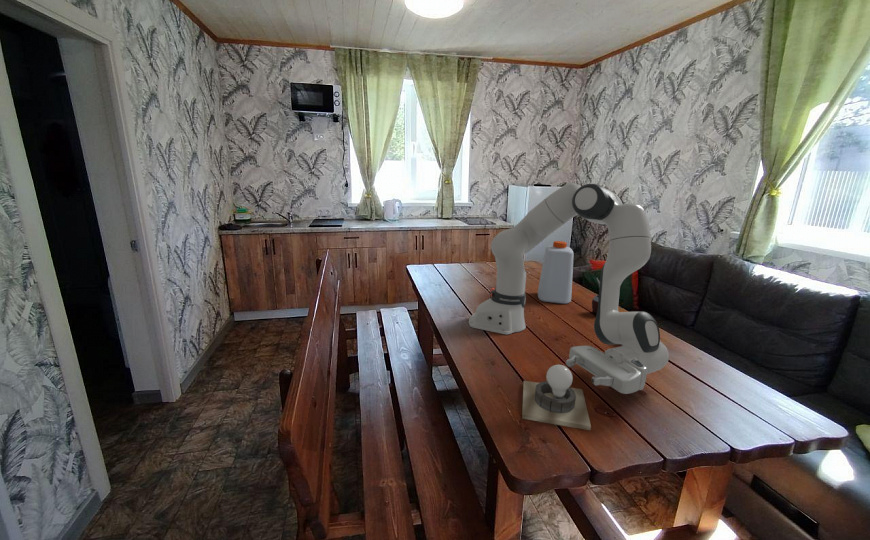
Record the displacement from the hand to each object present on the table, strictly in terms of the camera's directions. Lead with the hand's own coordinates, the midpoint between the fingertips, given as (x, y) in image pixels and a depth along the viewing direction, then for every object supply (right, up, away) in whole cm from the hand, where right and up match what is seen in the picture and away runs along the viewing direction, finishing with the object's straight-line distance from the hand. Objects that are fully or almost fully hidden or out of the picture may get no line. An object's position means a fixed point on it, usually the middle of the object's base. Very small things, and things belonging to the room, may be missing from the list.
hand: (579, 372), depth 100 cm
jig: (-7, -9, -1) cm, 11 cm away
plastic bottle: (+19, +13, +83) cm, 86 cm away
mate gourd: (+33, +8, +65) cm, 73 cm away
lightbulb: (-6, -8, -2) cm, 10 cm away
